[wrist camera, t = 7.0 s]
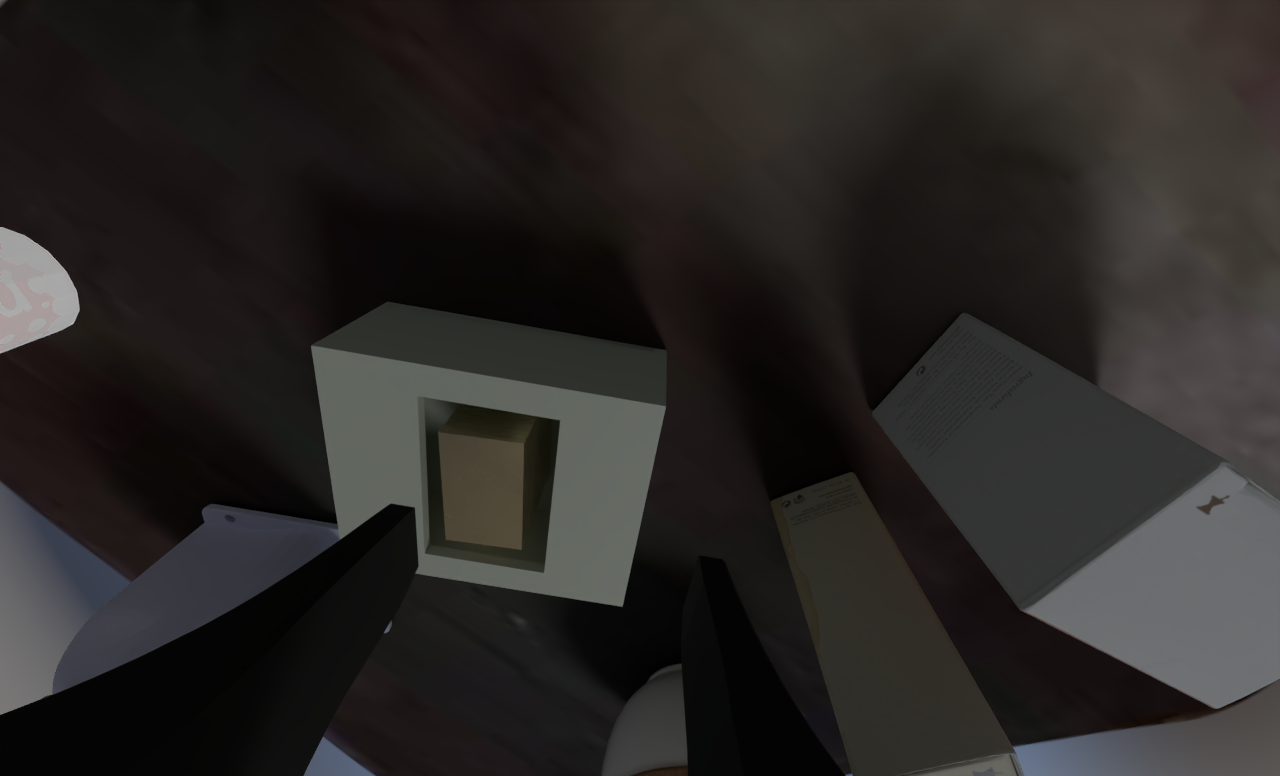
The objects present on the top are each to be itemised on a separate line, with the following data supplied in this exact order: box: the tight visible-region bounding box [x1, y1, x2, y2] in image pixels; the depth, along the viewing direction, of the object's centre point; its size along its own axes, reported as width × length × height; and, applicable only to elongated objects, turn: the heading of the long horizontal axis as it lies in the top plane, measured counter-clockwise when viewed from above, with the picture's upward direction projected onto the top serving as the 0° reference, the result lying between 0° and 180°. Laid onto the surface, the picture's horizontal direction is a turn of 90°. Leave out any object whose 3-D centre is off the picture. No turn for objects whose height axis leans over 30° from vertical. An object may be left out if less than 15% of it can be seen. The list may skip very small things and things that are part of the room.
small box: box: [872, 313, 1280, 709], centre depth 17 cm, size 8×6×10 cm
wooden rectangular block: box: [438, 404, 552, 550], centre depth 21 cm, size 3×5×5 cm, turn 173°
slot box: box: [311, 302, 667, 607], centre depth 21 cm, size 12×10×5 cm
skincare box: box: [771, 472, 1024, 776], centre depth 20 cm, size 6×4×12 cm
